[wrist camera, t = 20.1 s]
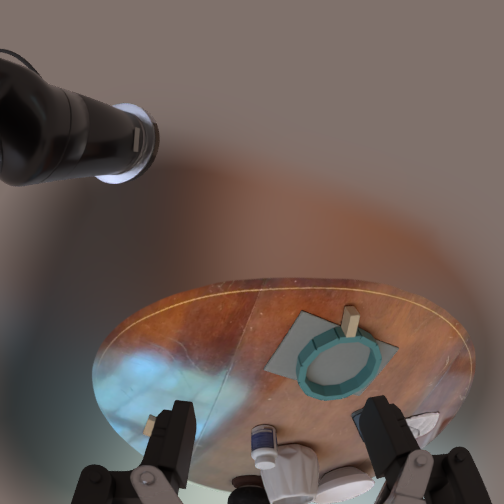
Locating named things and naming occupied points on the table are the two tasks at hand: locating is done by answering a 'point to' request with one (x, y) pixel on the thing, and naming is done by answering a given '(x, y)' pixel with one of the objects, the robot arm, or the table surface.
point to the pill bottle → (264, 446)
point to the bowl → (342, 485)
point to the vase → (292, 476)
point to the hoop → (329, 339)
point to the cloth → (422, 423)
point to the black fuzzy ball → (248, 491)
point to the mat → (323, 354)
